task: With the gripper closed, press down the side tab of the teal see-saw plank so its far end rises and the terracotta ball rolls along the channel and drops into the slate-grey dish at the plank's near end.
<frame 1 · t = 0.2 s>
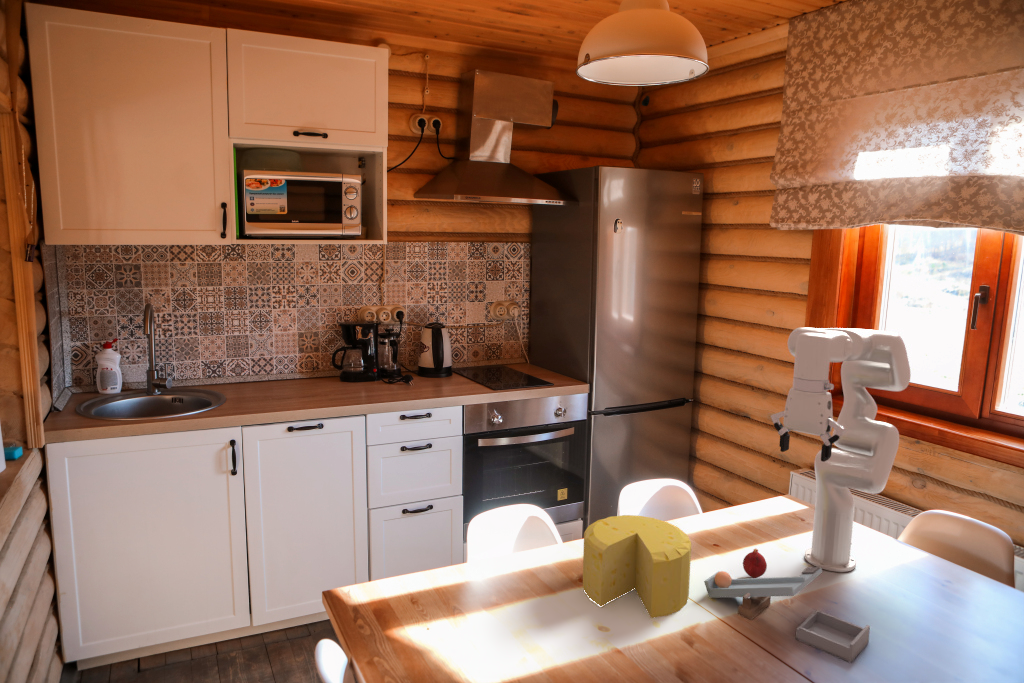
hand: (804, 455, 162), 36 cm above the table, tool pointing down, fingers open, 9 cm apart
onion: (753, 579, 175), on the table
dish: (831, 641, 148), on the table
cheese: (634, 590, 169), on the table
fulcrum: (754, 609, 161), on the table
ball: (727, 587, 165), point 3 cm above the table, tilted 36°, touching lever
lever: (760, 577, 163), point 6 cm above the table, hinge at 23.1°, touching ball
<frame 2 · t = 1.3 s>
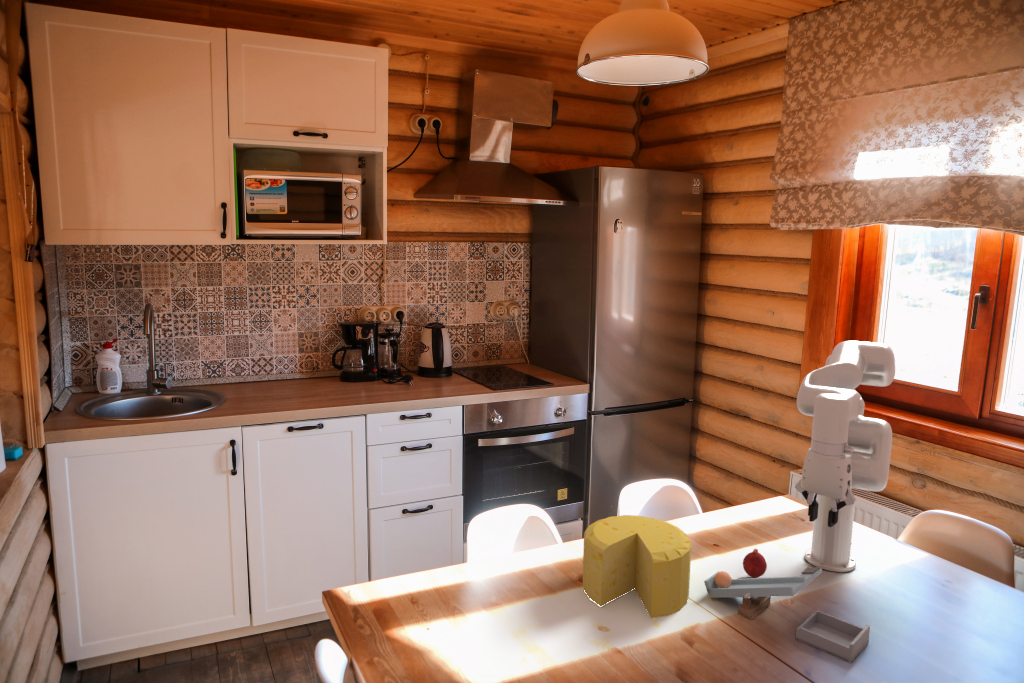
hand: (822, 521, 159), 21 cm above the table, tool pointing down, fingers open, 3 cm apart
nothing on the table moved.
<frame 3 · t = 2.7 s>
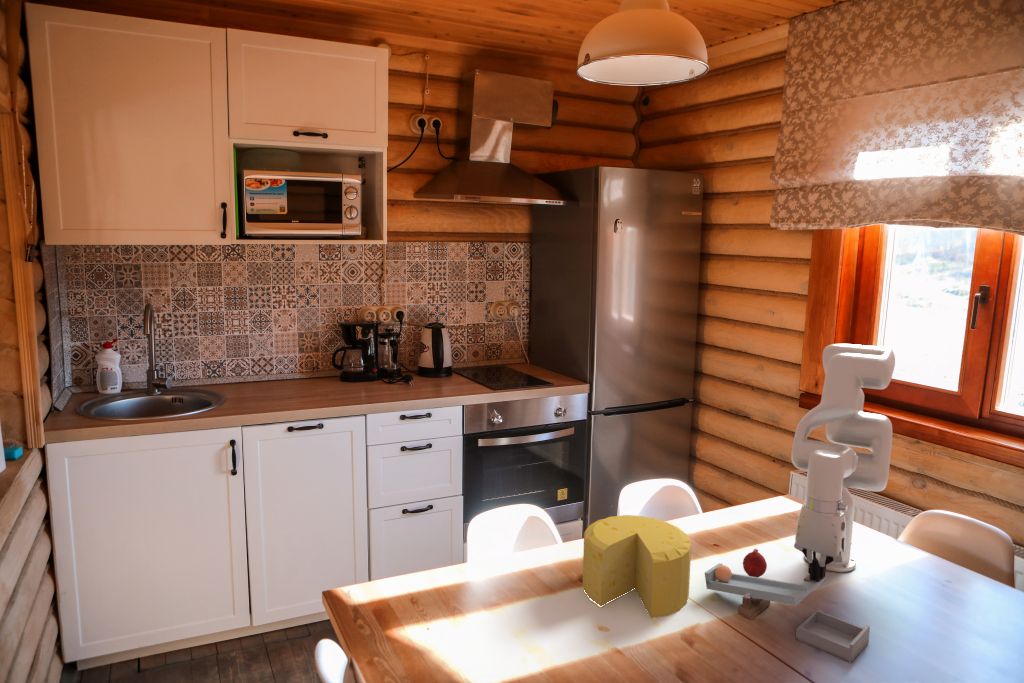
hand: (816, 578, 159), 8 cm above the table, tool pointing down, fingers closed
ball: (726, 581, 165), point 4 cm above the table, tilted 24°, touching lever
lever: (762, 577, 162), point 6 cm above the table, hinge at 12.0°, touching ball, gripper
everything else where it was.
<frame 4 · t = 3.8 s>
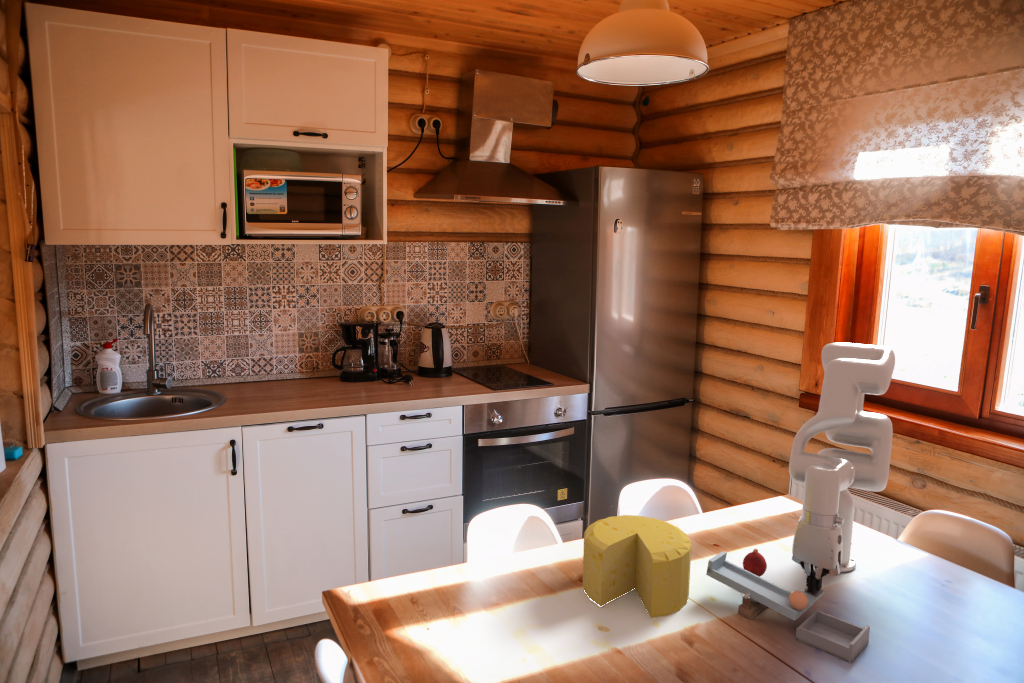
hand: (813, 591, 159), 5 cm above the table, tool pointing down, fingers closed
ball: (793, 591, 153), point 8 cm above the table, tilted 146°, touching lever
lever: (764, 578, 162), point 6 cm above the table, hinge at -6.6°, touching ball, gripper
everything else where it was.
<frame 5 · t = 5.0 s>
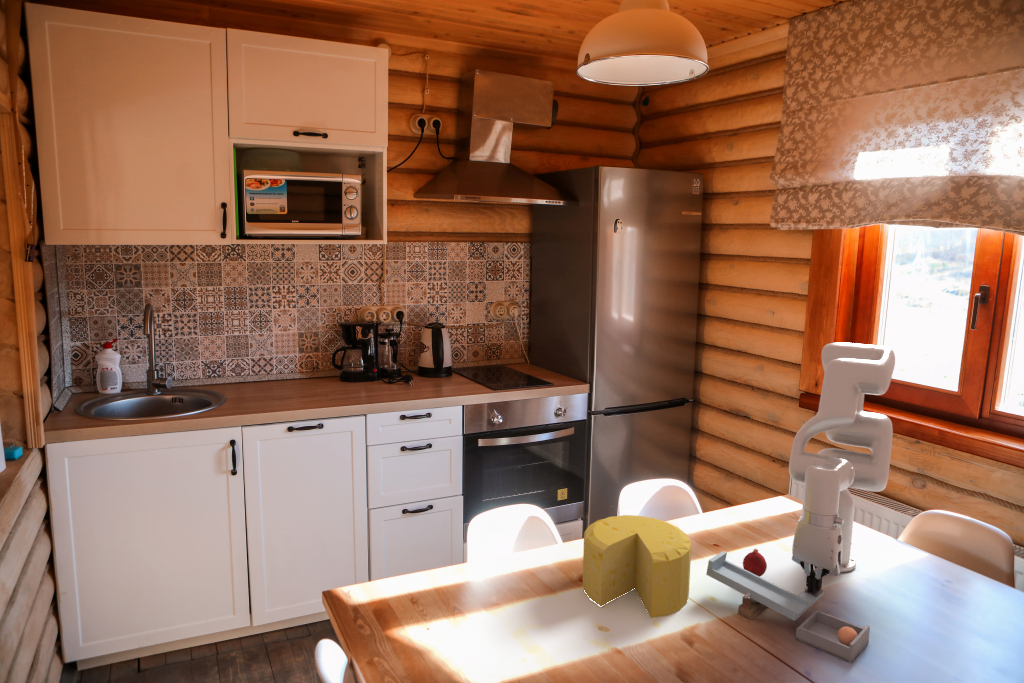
hand: (813, 591, 159), 5 cm above the table, tool pointing down, fingers closed
ball: (839, 629, 146), point 3 cm above the table, tilted 120°, touching dish
lever: (764, 578, 162), point 6 cm above the table, hinge at -6.7°, touching gripper
everything else where it was.
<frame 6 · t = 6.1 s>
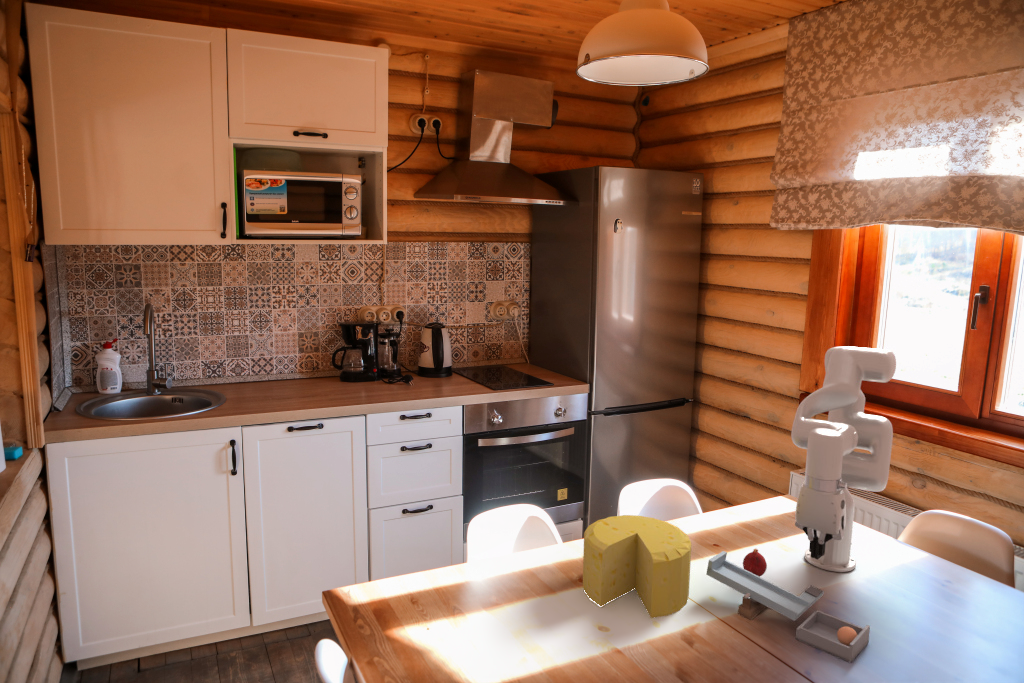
hand: (816, 556, 159), 13 cm above the table, tool pointing down, fingers closed
lever: (764, 578, 162), point 6 cm above the table, hinge at -6.9°
everything else where it was.
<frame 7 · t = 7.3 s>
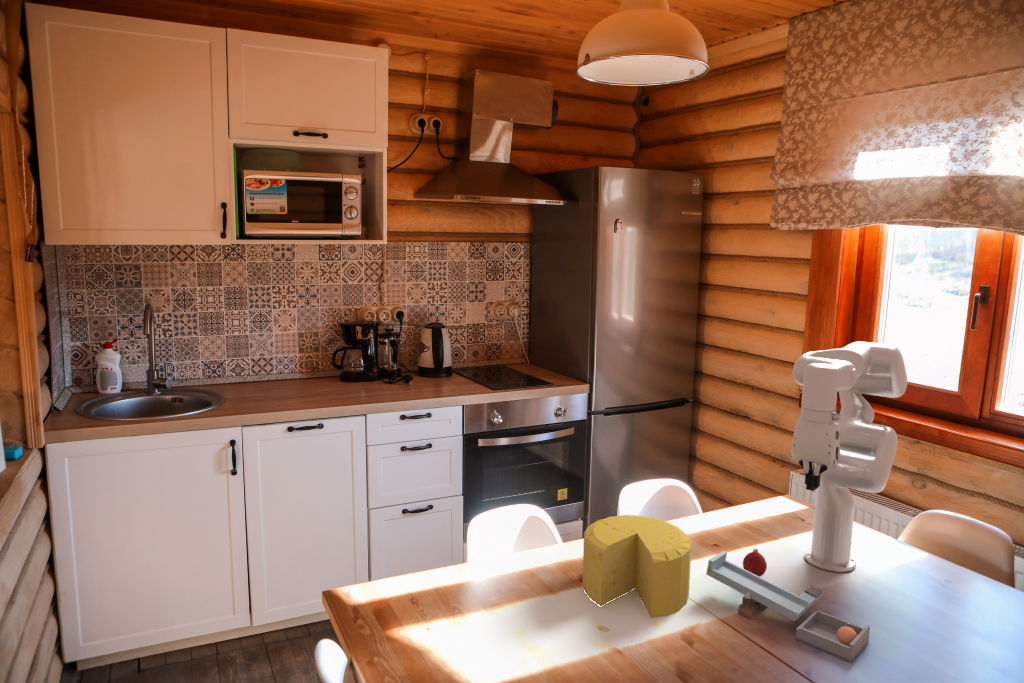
hand: (811, 488, 164), 27 cm above the table, tool pointing down, fingers closed
nothing on the table moved.
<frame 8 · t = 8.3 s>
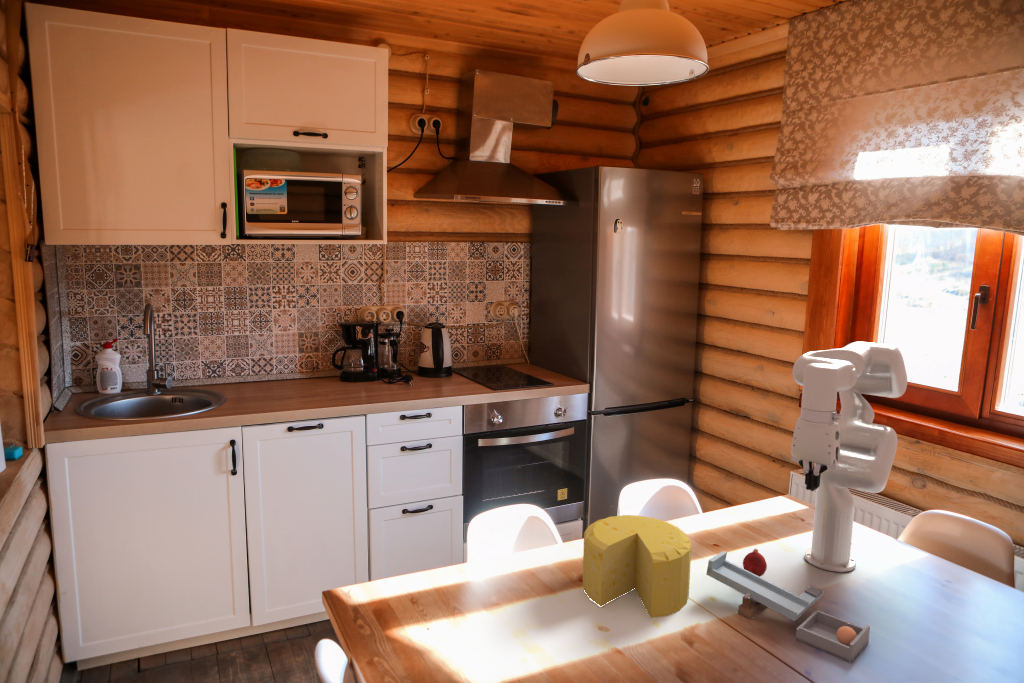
hand: (811, 488, 164), 27 cm above the table, tool pointing down, fingers closed
nothing on the table moved.
at the end: ball inside the target area on the dish (1.1 cm from its centre), point 3.3 cm above the dish's base; ball touching dish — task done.
